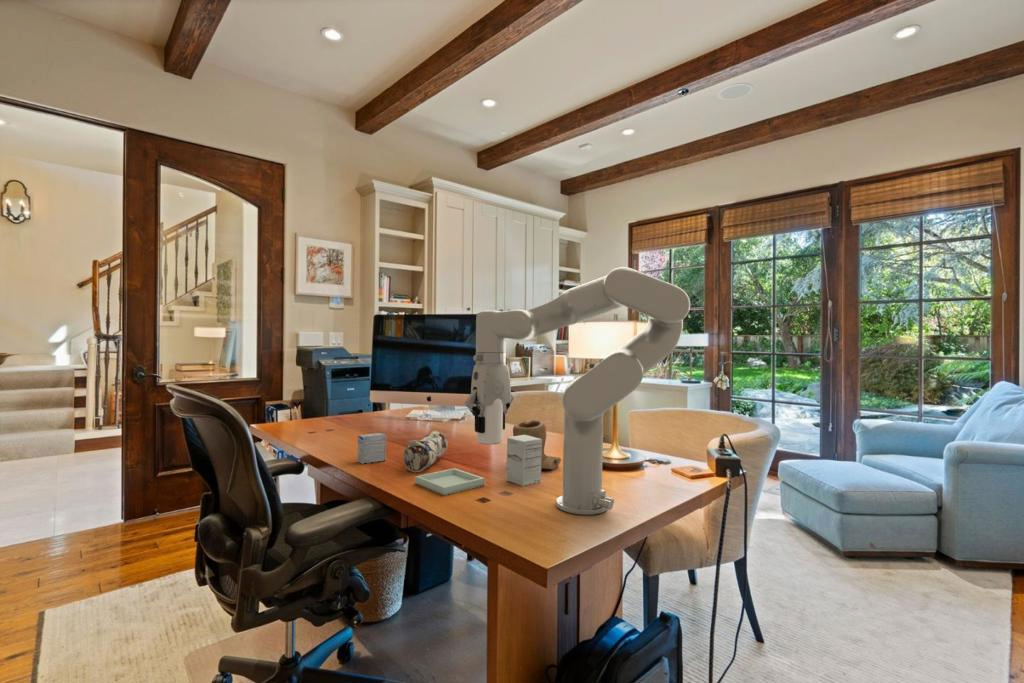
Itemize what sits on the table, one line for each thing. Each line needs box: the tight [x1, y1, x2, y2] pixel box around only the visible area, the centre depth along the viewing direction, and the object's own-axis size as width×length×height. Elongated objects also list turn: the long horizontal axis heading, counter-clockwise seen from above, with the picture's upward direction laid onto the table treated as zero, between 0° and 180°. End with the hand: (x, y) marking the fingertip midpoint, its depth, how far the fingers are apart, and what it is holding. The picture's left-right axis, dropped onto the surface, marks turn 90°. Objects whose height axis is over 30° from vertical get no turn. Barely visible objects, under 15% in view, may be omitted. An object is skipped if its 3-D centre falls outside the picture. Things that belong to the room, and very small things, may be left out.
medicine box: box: [357, 432, 387, 465], centre depth 158 cm, size 8×4×9 cm, turn 130°
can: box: [476, 399, 504, 445], centre depth 123 cm, size 6×6×12 cm
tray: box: [414, 467, 486, 497], centre depth 134 cm, size 14×14×2 cm
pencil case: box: [403, 430, 449, 473], centre depth 156 cm, size 22×8×10 cm, turn 172°
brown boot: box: [512, 419, 562, 470], centre depth 154 cm, size 15×12×15 cm
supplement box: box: [505, 435, 542, 487], centre depth 139 cm, size 7×7×13 cm
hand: (490, 430), depth 123 cm, fingers closed on can, 6 cm apart
